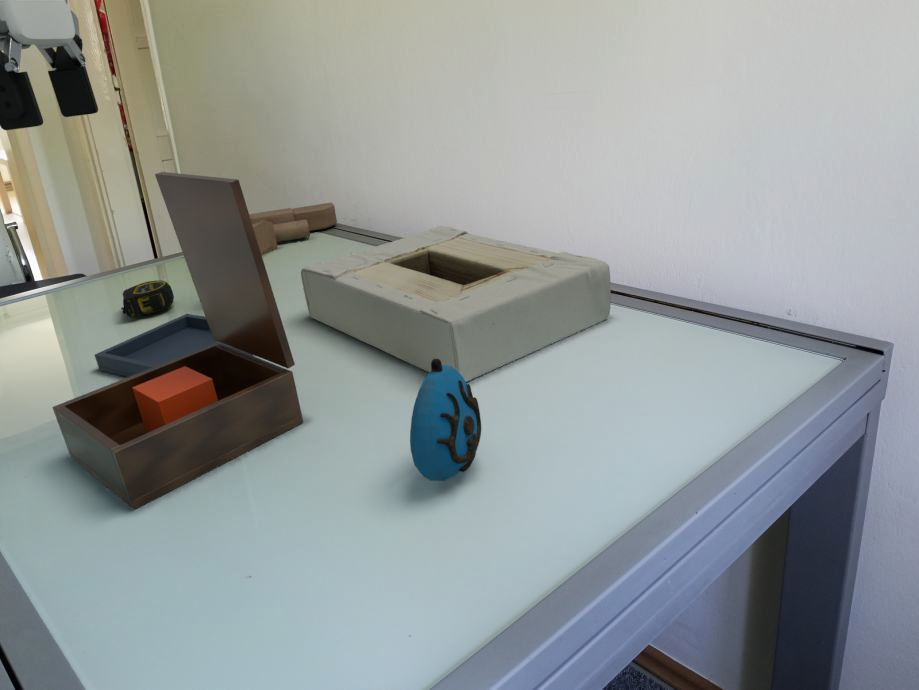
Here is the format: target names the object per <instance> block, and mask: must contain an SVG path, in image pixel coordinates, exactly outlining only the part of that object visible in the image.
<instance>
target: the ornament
mask: <svg viewBox="0 0 919 690" xmlns="http://www.w3.org/2000/svg"><path fill="white" fill-rule="evenodd" d="M414 400H415V401H414V404H413V409H412V413H411V414H412V415H411V421H410V429H409V444H410V445H409V446H410V453H411V457H412V461H413V464H414V467H415V468H416V470H417V471H418V472H419V473H420V475H421V476H422V477H423V478H424V479H426V480H428V481H431V482H445V481H447V480H449V479H450V478H453V477H454V476H455V475H457V474H459V473H460V472H461V473H465V472H466V471H467V470H468V469H469V468H470V467H471V465H472V464H473V462H474V460H475V457H476V455H477V454H476V453H477V450H478V449H479V448H478V447H479V444H480V441H481V437H482V419H481V411H480V406H479V402H478V401H479V400H478V399H477V397H475V396H473V392H472V387H471V385H470V384H469V383H468V382H466V381H465V380H464V378H463V377H462V375H461V374H460V373H459V372H458V371H457V370H456V369H454V368H453V367H452V366H449V365H442V363H441V361H440V360H439V359H437V358H436V359H433V360H432V361H431V371H430V372H428V374H426V376H425V378H424V379H423V380H422V383H421V385H420V387H419V389H418V391H417V394H416V398H415V399H414Z"/></svg>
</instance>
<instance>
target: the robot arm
mask: <svg viewBox="0 0 919 690" xmlns="http://www.w3.org/2000/svg"><path fill="white" fill-rule="evenodd" d="M83 45H84V43H83V39H82V38H81V36H80V24H79V18H78V16H77V15H76V14H75V13H74V11H72V10H71V7H70V4H69V0H0V128H1V130H3V131H13V130H19V129H27V128H28V129H29V128H36V127H40V126H42V125H43V124H44V117H43V115H42V113H41V110H40V107H39V106H40V105H39V103H38V100H37V98H36V93H35V92H34V88H33V86H32V83H31V79H30V76H29V73H28V71H20V69H21V58H22V50H27V49H29V48H30V47H32V46H34V47H36V48H37V50H38V51H39V53H40V54H41V55H42V57H43V58H44V59H45V61H46V62H47V64H49V66H50V67H51V69H52V70H48V71H47V73H48V74H47V75H48V77H49V80H50V83H51V86H52V89H53V92H54V95H55V98H56V101H57V104H58V107H59V110H60V114H61V115H62V117H64V118H70V117H71V118H72V117H78V116H86V115H93V114H97V113H98V112H99V107H98V104H97V100H96V96H95V93H94V90H93V87H92V84H91V80H90V77H89V74H88V71H87V67H86V66H87V60H86V56H85V55H84V53H83ZM54 48H56V49H54Z"/></svg>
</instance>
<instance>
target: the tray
mask: <svg viewBox="0 0 919 690" xmlns="http://www.w3.org/2000/svg"><path fill="white" fill-rule="evenodd" d="M217 342H219V341H217V340H214V339H213V336H212V333H211V331H210V328H209V325H208V322H207V319H206V317H205V315H197V314H192V313H185V314H183V315H180V316H179V317H176V318H173V319H172V320H170V321H167V322H165V323H162V324H160V325H158V326H156V327H154V328H151V329H149V330H147V331H144V332H143V333H140V334H138V335H135V336H133V337H131V338H128V339H126V340H124V341H122V342H119V343H118V344H115V345H113V346H111V347H108V348H106V349H104V350H102V351H98V352H97V353H95V354H94V358H95V361H96V364H97V366H98V370H99V371H101V372H105V373H109V374H113V375H116V376H121V377H125V378H128V377H130V376H133V375H135V374H138V373H140V372H143V371H145V370H148V369H150V368H153V367H156V366H158V365H161V364H163V363H166V362H168V361H171V360H173V359H176V358H178V357H181V356H184V355H186V354H189V353H191V352H194V351H196V350H199V349H201V348H204V347H206V346H209V345H212V344H214V343H217ZM219 343H221V344H224V343H222V342H219ZM224 345H226V346H229V345H227V344H224ZM229 347H231V348H234V347H232V346H229ZM234 349H236V350H239V349H237V348H234ZM239 351H241V352H244V353H247V352H245V351H242V350H239ZM247 354H249V355H252V354H250V353H247ZM252 356H253V355H252Z"/></svg>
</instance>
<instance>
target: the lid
mask: <svg viewBox="0 0 919 690" xmlns="http://www.w3.org/2000/svg"><path fill="white" fill-rule="evenodd" d="M154 176H155V179H156V182H157V185H158V187H159V190H160V193H161V196H162V199H163V200H164V204H165V208H166V210H167V213H168V215H169V219H170V222H171V224H172V226H173V230H174V232H175V235H176V239H177V240H178V244H179V246H180V249H181V252H182V254H183V257H184V261H185V263H186V266H187V268H188V271H189V274H190V277H191V280H192V283H193V285H194V289H195V291H196V293H197V297H198V300H199V302H200V305H201V308H202V311H203V314H204V316H205V317H206V319H207V322H208V325H209V328H210V331H211V333H212V336H213V339H214V340H217V341H219V342H222V343H224V344H227V345H229V346H232V347H234V348H237V349H239V350H242V351H245V352H247V353H250V354H252V356H254V357H257V358H259V359H262V360H264V361H267V362H269V363H272V364H274V365H277V366H279V367H282V368H285V369H290V368H292V367H294V366H295V365H296V363H295V360H294V358H293V357H294V356H293V354H292V350H291V347H290V344H289V341H288V337H287V335H286V331H285V328H284V325H283V321H282V317H281V314H280V311H279V309H278V308H279V307H278V305H277V302H276V301H277V300H276V298H275V294H274V291H273V288H272V284H271V281H270V278H269V275H268V271H267V269H266V265H265V261H264V258H263V255H261V252H260V248H259V245H258V242H257V238H256V235H255V232H254V229H253V225H252V222H251V219H250V215H249V214H250V213H249V210H248V209H249V208H248V206H247V203H246V199H245V196H244V193H243V189H242V186H241V183H240V180H239V179H238V178H227V177H216V176H208V175H207V176H206V175H197V174H186V173H178V172H167V171H161V172H158V173H155V174H154Z"/></svg>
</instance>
